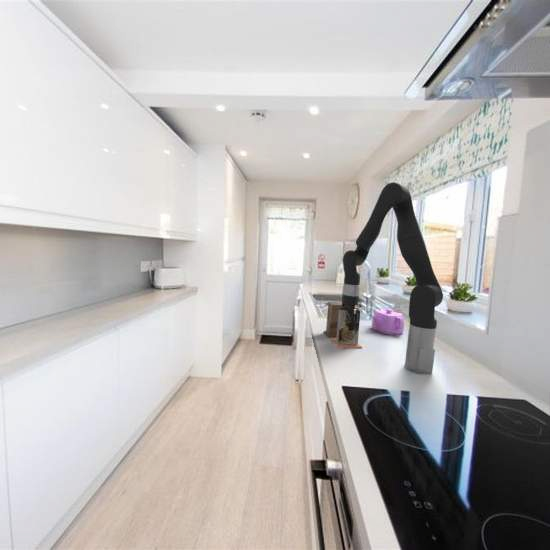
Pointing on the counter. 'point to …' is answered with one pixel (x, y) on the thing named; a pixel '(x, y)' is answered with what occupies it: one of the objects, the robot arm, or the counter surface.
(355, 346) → the terracotta pad
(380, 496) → the counter surface
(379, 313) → the teakettle
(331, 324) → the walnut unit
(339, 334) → the coffee box
